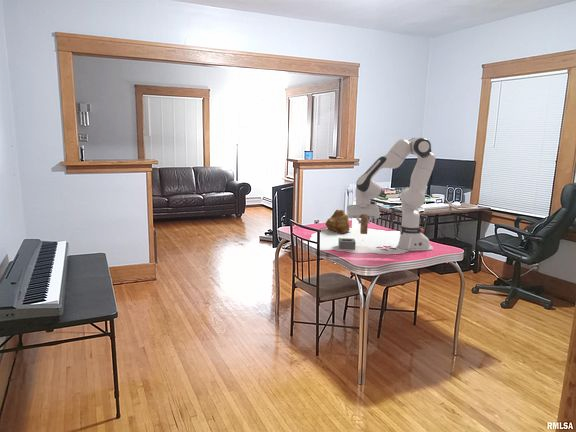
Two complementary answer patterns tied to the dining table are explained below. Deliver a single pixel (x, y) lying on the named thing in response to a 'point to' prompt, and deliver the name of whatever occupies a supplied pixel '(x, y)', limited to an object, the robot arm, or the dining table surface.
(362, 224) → the walnut slat
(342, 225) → the rough brown rock
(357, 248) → the cream base board
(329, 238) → the dining table surface
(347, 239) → the charcoal end cap
